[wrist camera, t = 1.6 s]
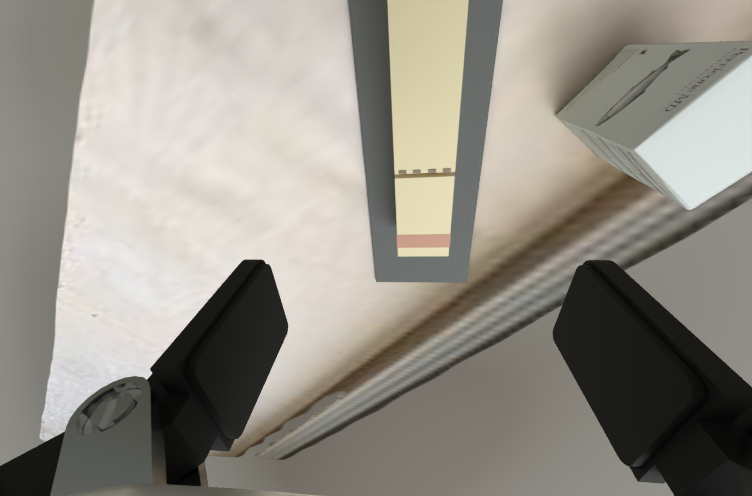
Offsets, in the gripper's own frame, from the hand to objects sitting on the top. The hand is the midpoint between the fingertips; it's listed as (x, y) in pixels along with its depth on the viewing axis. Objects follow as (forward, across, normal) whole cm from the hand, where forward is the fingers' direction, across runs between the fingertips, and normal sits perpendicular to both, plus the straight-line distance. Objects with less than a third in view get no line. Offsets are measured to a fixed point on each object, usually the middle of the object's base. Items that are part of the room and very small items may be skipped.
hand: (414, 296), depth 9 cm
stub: (+25, -2, +7) cm, 26 cm away
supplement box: (+26, -20, -2) cm, 32 cm away
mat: (+26, -2, +4) cm, 26 cm away
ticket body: (+26, -2, -5) cm, 26 cm away
